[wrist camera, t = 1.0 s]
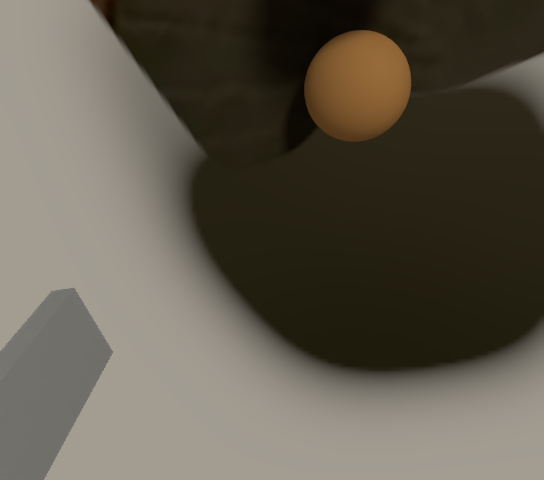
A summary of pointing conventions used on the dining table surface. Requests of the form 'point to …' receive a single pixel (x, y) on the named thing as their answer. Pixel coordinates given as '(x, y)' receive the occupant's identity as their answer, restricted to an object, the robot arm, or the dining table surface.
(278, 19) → the dining table surface
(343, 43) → the ball
